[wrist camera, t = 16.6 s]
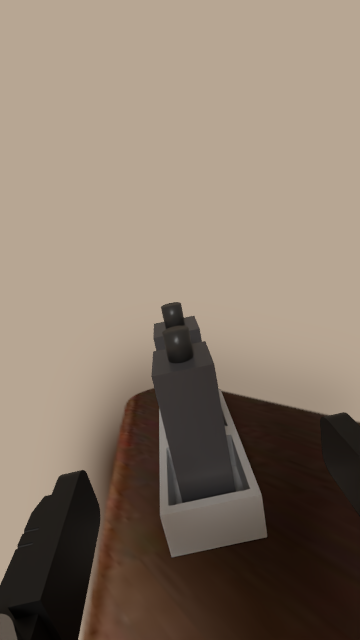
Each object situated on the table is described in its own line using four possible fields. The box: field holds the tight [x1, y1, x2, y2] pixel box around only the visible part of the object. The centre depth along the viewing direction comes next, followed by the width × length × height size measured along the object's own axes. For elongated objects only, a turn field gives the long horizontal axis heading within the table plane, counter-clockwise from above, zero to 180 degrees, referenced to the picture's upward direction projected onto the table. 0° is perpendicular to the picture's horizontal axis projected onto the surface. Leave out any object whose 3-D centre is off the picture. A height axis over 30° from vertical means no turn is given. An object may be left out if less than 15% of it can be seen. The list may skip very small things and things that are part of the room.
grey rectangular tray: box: [159, 389, 267, 557], centre depth 27 cm, size 14×7×5 cm, turn 4°
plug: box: [152, 326, 236, 503], centre depth 22 cm, size 4×4×15 cm
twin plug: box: [154, 302, 202, 351], centre depth 29 cm, size 4×4×15 cm
